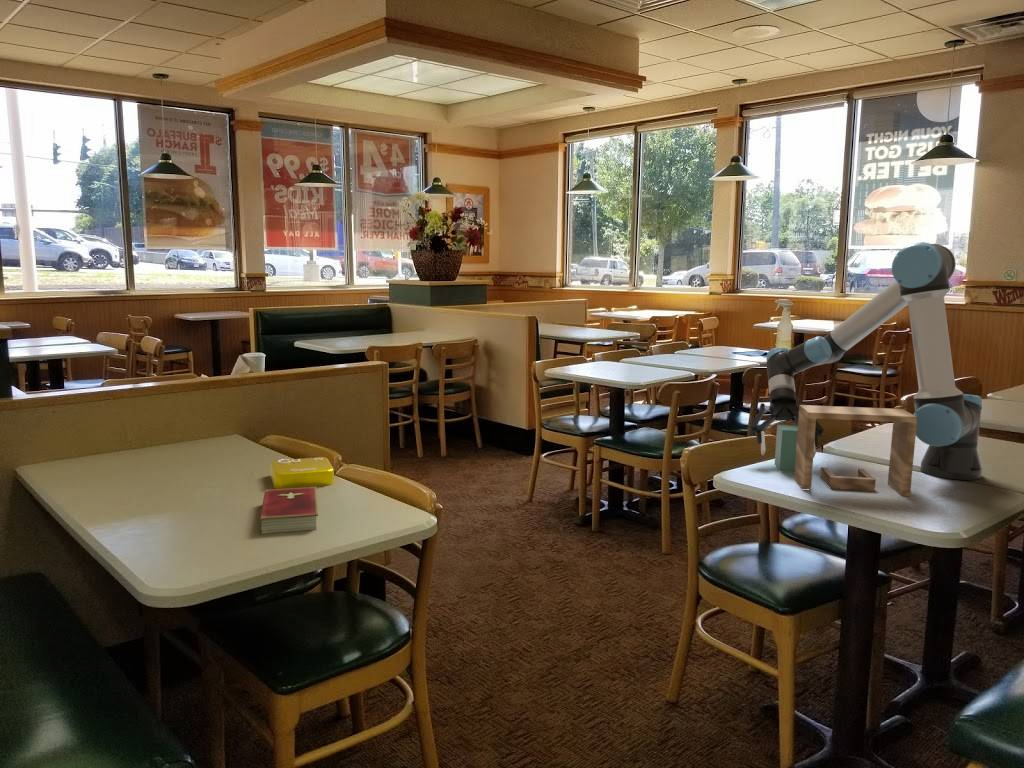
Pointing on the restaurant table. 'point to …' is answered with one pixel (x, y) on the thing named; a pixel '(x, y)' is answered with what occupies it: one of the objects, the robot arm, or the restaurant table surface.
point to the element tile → (301, 472)
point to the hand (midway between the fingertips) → (788, 454)
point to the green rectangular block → (786, 447)
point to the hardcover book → (289, 510)
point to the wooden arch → (864, 481)
